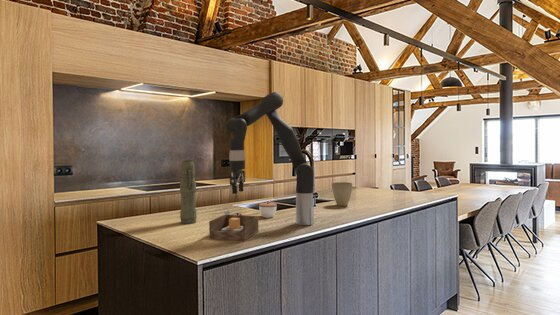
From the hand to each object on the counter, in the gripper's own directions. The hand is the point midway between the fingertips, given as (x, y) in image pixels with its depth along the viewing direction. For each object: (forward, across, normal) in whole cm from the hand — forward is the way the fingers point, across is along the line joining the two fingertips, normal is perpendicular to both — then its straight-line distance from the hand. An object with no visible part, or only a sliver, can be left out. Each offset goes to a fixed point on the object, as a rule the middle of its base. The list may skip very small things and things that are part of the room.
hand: (238, 192), depth 185 cm
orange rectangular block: (+20, -3, +1) cm, 21 cm away
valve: (+21, +23, +13) cm, 33 cm away
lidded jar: (+21, +45, -1) cm, 50 cm away
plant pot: (+22, +99, -40) cm, 109 cm away
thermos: (+20, +18, +38) cm, 47 cm away
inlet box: (+20, -3, +1) cm, 21 cm away
